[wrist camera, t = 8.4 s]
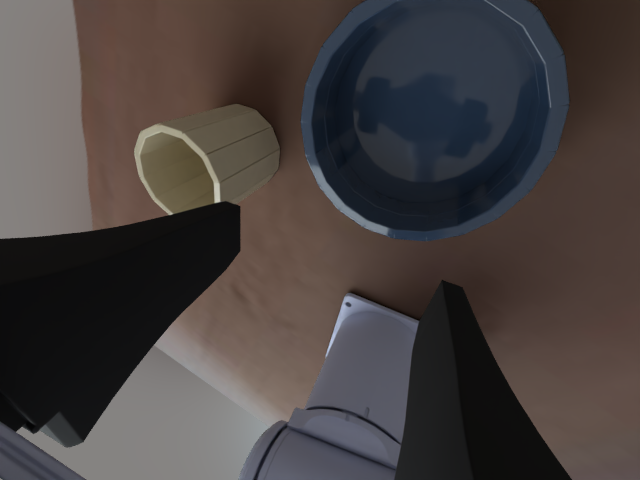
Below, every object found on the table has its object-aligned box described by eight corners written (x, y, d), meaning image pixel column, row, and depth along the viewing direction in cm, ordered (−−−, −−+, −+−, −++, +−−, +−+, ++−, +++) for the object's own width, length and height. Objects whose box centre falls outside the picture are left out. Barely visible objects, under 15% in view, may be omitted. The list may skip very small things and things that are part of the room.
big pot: (476, 232, 18) (479, 270, 15) (315, 178, 21) (289, 201, 18) (605, 15, 12) (655, 4, 9) (352, -30, 14) (321, -51, 11)
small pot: (276, 194, 23) (221, 238, 17) (213, 171, 24) (144, 206, 19) (283, 117, 19) (218, 143, 14) (210, 95, 20) (125, 112, 15)
